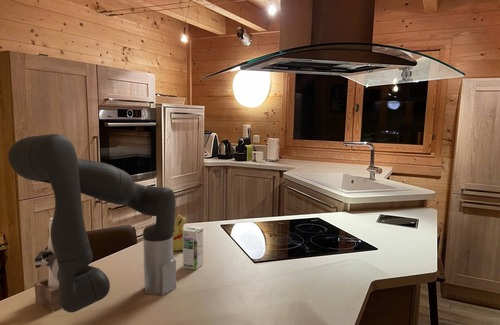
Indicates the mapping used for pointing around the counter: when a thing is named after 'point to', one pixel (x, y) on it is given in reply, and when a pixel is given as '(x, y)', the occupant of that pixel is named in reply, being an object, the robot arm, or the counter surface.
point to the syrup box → (192, 247)
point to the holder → (47, 295)
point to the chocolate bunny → (178, 233)
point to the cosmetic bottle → (52, 282)
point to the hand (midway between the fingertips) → (55, 247)
